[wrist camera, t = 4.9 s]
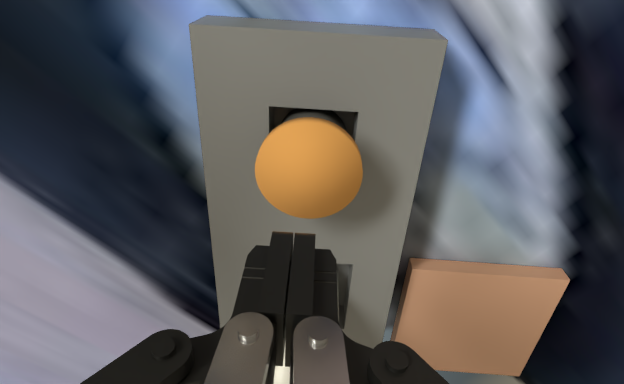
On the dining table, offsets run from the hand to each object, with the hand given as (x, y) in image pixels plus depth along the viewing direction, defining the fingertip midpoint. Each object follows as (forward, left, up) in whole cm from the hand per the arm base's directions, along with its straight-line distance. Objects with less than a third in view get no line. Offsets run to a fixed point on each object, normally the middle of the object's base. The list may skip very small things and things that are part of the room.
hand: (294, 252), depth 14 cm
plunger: (0, 0, -10) cm, 10 cm away
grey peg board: (0, -5, -12) cm, 13 cm away
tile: (+13, -15, -12) cm, 23 cm away
